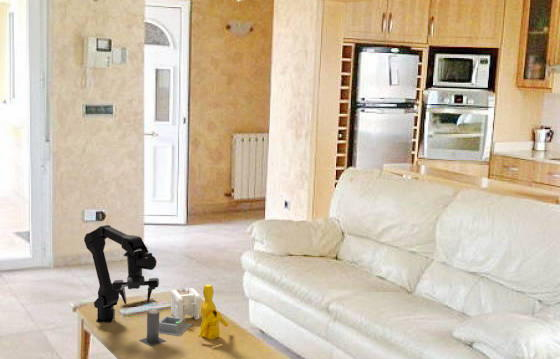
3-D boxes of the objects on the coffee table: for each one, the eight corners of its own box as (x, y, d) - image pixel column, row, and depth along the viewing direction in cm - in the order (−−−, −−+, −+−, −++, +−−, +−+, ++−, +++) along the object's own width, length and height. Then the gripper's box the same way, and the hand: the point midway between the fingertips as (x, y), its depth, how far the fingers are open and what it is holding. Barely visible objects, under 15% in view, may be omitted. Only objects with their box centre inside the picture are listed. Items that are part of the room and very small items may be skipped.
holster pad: (138, 341, 276) (138, 340, 276) (154, 336, 282) (154, 335, 282) (150, 347, 270) (150, 346, 270) (166, 342, 276) (166, 341, 276)
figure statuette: (202, 345, 275) (204, 293, 272) (188, 340, 280) (190, 289, 277) (231, 333, 289) (233, 284, 286) (217, 328, 294) (219, 279, 291)
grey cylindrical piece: (144, 340, 276) (144, 309, 274) (153, 337, 279) (154, 307, 277) (151, 344, 273) (152, 313, 271) (161, 340, 276) (161, 310, 274)
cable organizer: (200, 322, 300) (201, 297, 299) (177, 324, 296) (177, 299, 295) (191, 310, 314) (192, 286, 312) (169, 312, 310) (169, 288, 308)
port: (148, 332, 285) (148, 322, 285) (161, 321, 299) (162, 311, 298) (179, 337, 282) (180, 327, 282) (191, 325, 296) (192, 316, 295)
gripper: (108, 272, 274) (111, 310, 275) (155, 270, 275) (157, 308, 277) (113, 266, 285) (115, 303, 286) (158, 264, 286) (160, 300, 288)
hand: (136, 304), depth 284 cm, fingers open, 9 cm apart
